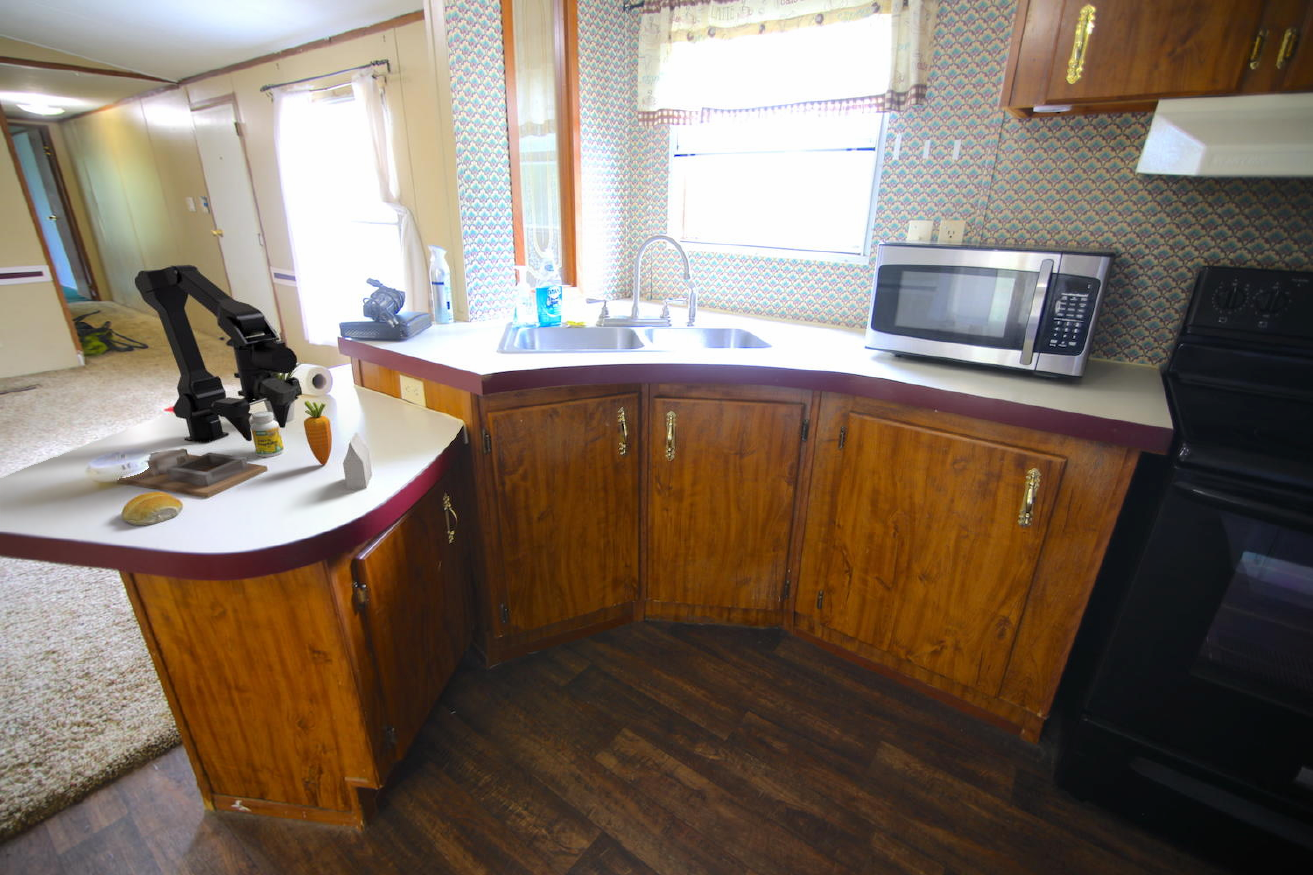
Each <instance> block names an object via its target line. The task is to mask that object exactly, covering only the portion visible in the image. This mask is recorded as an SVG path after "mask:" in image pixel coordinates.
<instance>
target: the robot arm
mask: <svg viewBox="0 0 1313 875" xmlns="http://www.w3.org/2000/svg"><path fill="white" fill-rule="evenodd" d="M134 285H135V288H136V289H137V291H139V293H140V296H141V298H142V300H143V302H145V303H146V304H147V305H149V306H150V307H151V308H152V309H153V310H155V311H156V312H157V315H158V316H159V319H160V322H161V325H162V327H163V330H164V333H165V336H166V338H167V341H168V343H169V346H170V347H169V348H171V352H172V355H173V357H174V360H175V362H176V365H177V367H178V370H179V373H180V377H179V380H178V383H177V387H176V390H177V393H178V398H177V400H176V401H175V403H174V405H173V408H172V411H173V412H174V415H175V417H176V418H178V419H182V420H183V419H184V420H185V422H186V425H187V429H188V434H189V436H186V437H184V438H183V440H184V441H186V442H187V441H188V442H193V443H201V444H207V443H211V442H213V441H216V440H219V439H222V438H224V437H226V436H229V434H230V433H229V432H227V431H226V432H225V431H223V424H222V422H221V419H220V417H221V418H225V419H226V420H227V421H228V422H229V423H230V424H232V426H233V427H234V428H235V429H236V430H237V431H238V433H239V434H240V435H241V436H242V437H243V438H244V439H245V441H247V442H251V441H253V435H252V430H251V424H250V419H251V417H252V415H253V413H252V412H251V413H250V411H251V406H253V405H256V404H260V403H262V402H264V401H265V400H269V401H270V404H271V406H272V409H273V412H274V414H275V417H276V420H277V422H278V424H279V428H280V429H284V428H285V427H286V424H287V422H286V420H287V416H288V411H289V408H290V405H291V404H292V403H293V402H294V401H296V400H298V399H299V396H301V395H303V391H302V386H301V384H300V383H301V382H300V380H299V378H297V377H295V376H291V377H290V378H288V379H286V378H285V379H286V381H285V379H283V380H279V379H277V377H276V373H274V372H277V373H280V374H287V375H288V373H290V372H291V371H293V370H294V371H295V369H296V368H297V367H296V365H297V364H298V358H297V354H296V353H295V351H293V349H292V348H290V347H288V346H286V341H285V340H280V337H279V335H278V334H277V331H276V329H275V328H274V327H273V326H272V325H271V323H270V322H269V320H268V319H267V317H266V316H265V315H264V313H263V312H262V311H261V310H259V309H258V308H256V307H254V306H253V305H251V304H249V303H246V302H242V301H238V300H237V299H235V298H233V297H231V296H230V295H229V294H227V293H226V292H224V290H222V289H221V288H219V287H218V286H217V285H216V284H215V283H213V282H212V281H211V280H209V278H207V277H206V276H204V275H203V274H202V273H201V272H200V270H199V268H198V267H196V266H195V265H192V264H180V265H179V264H178V265H170V266H168V267H165V268H161V269H148V270H145V269H144V270H139V272H138V273H137V276H135V278H134ZM189 296H190V297H192V298H193V299H194V300H195V301H197V302H198V303H199V304H200V305H201V306H203V307H204V308H205V309H206V310H208V311H209V312H210V313H211V314H213V315H214V317H216V323H217V326H218V327H219V328H220V329H221V330H222V331H223V332H224V333H225V335H227V336H228V337H229V339H228V340H227V341H226V342H225V344H226V346H227V347H232V348H233V349H232V350H233V354H234V358H235V362H236V368H237V372H234V373H233V377H234V378H235V379H239V382H240V386H241V390H238V391H237V396H238V397H243V398H235V397H231V396H230V397H227V394H226V392H227V391H226V390H225V388H224V386H223V383H222V382H223V381H222V378H221V377H219V376H218V375H213V374H212V373H211V372H209V371H208V368H207V367H206V365H205V362H204V359H203V356H202V353H201V351H200V348H199V344H198V343H197V339H196V337H195V334H194V331H193V328H192V325H191V323H190V320H189V317H188V314H187V312H186V306H187V305H186V304H187V301H188V299H189ZM295 367H296V368H295ZM294 368H295V369H294ZM294 371H293V372H294Z"/></svg>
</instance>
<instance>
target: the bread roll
mask: <svg viewBox="0 0 1313 875" xmlns="http://www.w3.org/2000/svg"><path fill="white" fill-rule="evenodd" d="M183 506H184V504H183V502H182V501H181V500H180V499H178V498H176V497H174V496H173V495H172V494H170V493H167V492H163V491H150V492H145V493H142V494H139V495H137V496H134V497H133V498H131V499H130V500H129V501H128V502H127V503H126V504H125V505H124V506H123V508H122V510H121V518H122V520H123V521H125V522H126V523H129V524H130V525H135V526H149V525H155V524H158V523H163V522H165V521H169V520H171V519H173V518H175V517H177V516H178V515H179V514H180V513H181V511H182V510H183Z"/></svg>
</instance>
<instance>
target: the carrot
mask: <svg viewBox="0 0 1313 875" xmlns="http://www.w3.org/2000/svg"><path fill="white" fill-rule="evenodd" d="M303 404H304V405H305V406H306V408H307V409H308V410H307V409H306V410H305V411H304V413H306V414H308V415H310V416H308V417H306V419H305V420H304V421H303V427H304V431H305V435H306V436H305V437H306V440H307V443H308V445H309V448H310V451H311V452H312V454H313V456H314V458H315V459H316V460H317V461H318V462H319V464H321V465H322V466H325V465H326V464H328V461H329V458H330V457H331V456H330V455H331V452H332V442H333V441H332V440H333V438H332V429H331V421H330V418H328V417H326V416H325V415H322V413H323V410H324V408H326V407H325V406H326V403H324V402H322V403H321V404H320V406H319V404H318V403H317V402H315V401H314V402H312V404H313V405H312V404H311V402H310V401H309V400H305V401H304V403H303Z"/></svg>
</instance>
